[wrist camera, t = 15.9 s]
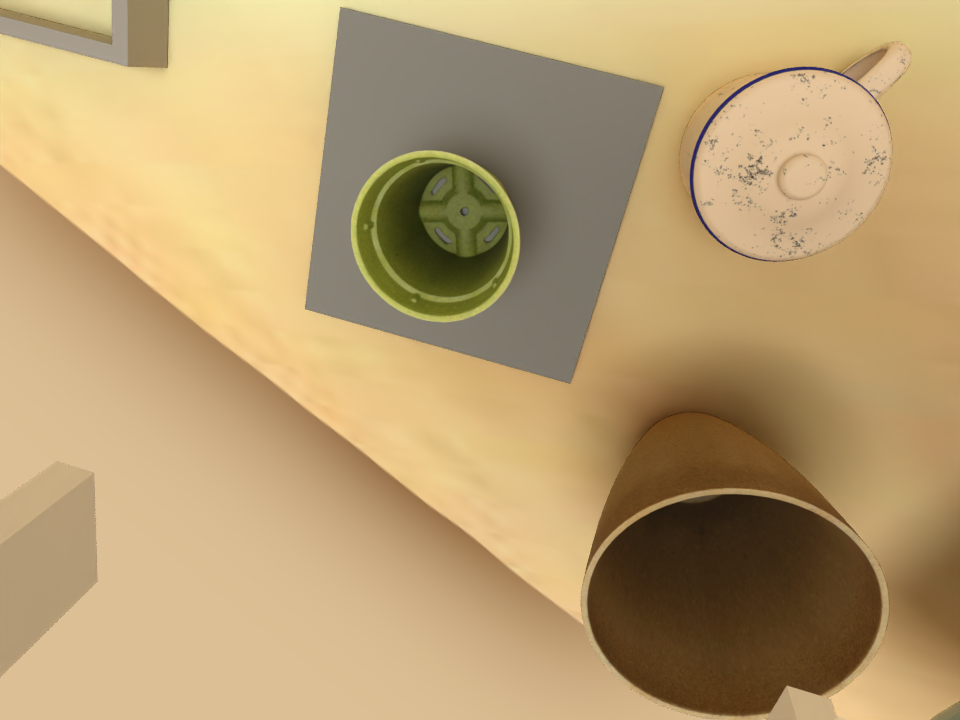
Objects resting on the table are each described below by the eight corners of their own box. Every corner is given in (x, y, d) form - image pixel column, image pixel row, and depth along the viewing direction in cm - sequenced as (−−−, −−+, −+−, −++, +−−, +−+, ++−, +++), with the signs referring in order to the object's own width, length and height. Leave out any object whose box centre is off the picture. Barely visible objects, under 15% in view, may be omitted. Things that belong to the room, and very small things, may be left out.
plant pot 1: (474, 307, 46) (447, 354, 38) (369, 217, 45) (318, 247, 37) (566, 205, 42) (556, 234, 35) (453, 103, 41) (417, 110, 33)
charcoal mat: (663, 86, 39) (663, 87, 39) (570, 380, 48) (570, 383, 47) (343, 7, 41) (340, 7, 40) (307, 307, 49) (305, 309, 49)
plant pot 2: (771, 554, 50) (837, 748, 36) (574, 518, 52) (562, 688, 38) (831, 378, 44) (939, 524, 30) (607, 344, 46) (606, 467, 32)
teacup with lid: (740, 257, 42) (784, 317, 32) (642, 153, 41) (654, 179, 30) (916, 111, 37) (1036, 124, 27) (812, -12, 36) (896, -48, 26)
